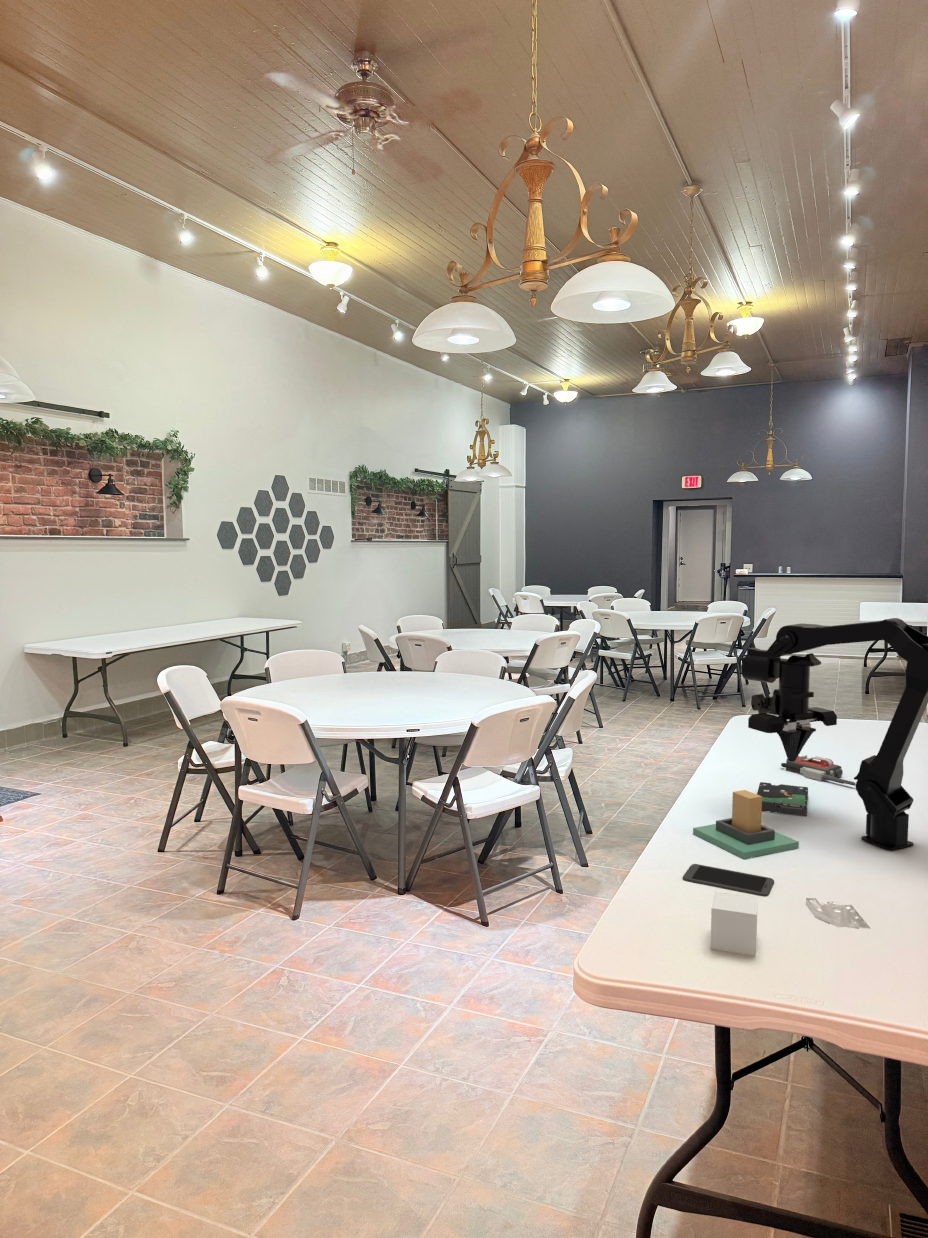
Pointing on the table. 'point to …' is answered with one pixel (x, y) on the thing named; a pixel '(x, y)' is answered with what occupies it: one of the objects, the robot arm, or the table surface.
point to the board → (745, 839)
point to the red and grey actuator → (816, 769)
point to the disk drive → (784, 798)
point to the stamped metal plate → (836, 914)
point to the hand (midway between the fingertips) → (791, 761)
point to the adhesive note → (734, 923)
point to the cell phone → (729, 880)
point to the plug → (746, 811)
